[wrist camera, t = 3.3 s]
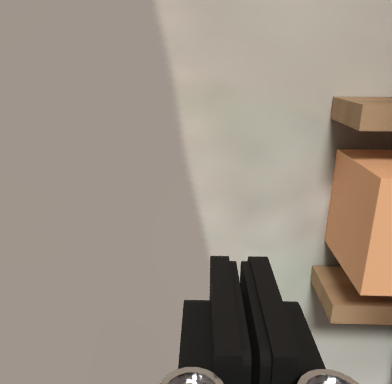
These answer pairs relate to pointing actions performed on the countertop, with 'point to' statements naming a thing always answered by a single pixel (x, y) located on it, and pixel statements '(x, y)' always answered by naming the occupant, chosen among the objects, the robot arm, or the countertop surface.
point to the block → (362, 219)
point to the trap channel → (335, 275)
